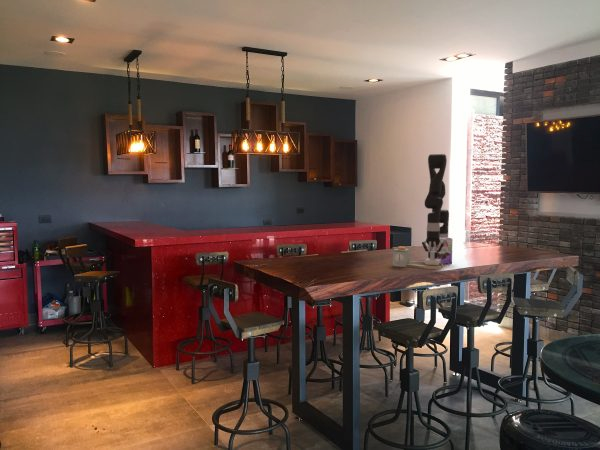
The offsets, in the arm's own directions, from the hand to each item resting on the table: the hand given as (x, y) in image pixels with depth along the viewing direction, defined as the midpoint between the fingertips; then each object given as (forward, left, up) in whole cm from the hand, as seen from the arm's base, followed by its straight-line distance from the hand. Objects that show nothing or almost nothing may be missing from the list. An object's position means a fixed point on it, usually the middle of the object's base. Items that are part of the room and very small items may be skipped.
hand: (432, 258), depth 305 cm
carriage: (0, 0, -4) cm, 4 cm away
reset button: (0, -19, +2) cm, 19 cm away
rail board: (0, -5, -6) cm, 7 cm away
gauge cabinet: (0, -19, -6) cm, 20 cm away
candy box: (-18, +1, -6) cm, 19 cm away
